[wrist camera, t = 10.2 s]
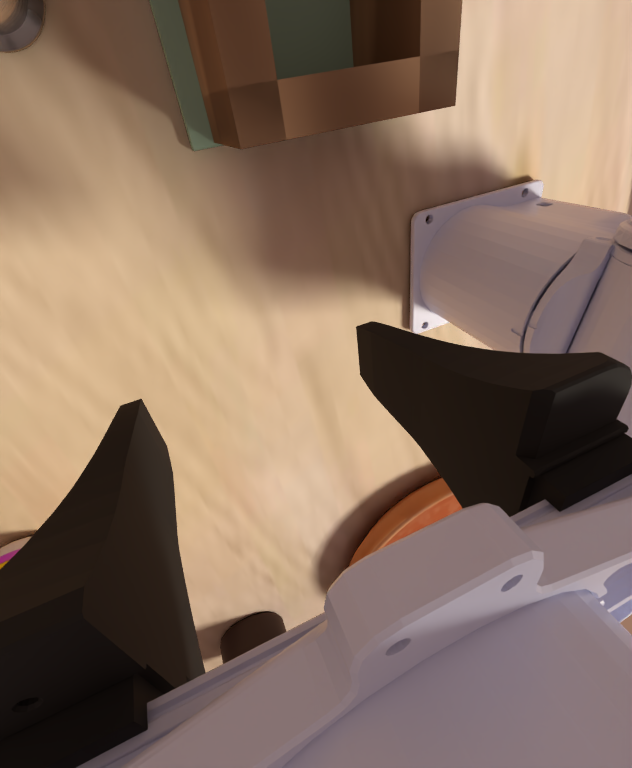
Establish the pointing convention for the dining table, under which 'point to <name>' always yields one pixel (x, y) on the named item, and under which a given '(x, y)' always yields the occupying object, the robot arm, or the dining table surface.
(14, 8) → the metal door knob
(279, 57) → the green rubber mat
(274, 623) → the vinegar
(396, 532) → the saucer
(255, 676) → the robot arm
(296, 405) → the dining table surface
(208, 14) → the walnut C-link
